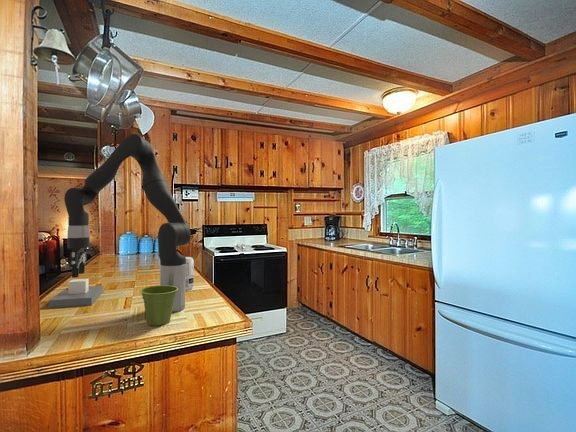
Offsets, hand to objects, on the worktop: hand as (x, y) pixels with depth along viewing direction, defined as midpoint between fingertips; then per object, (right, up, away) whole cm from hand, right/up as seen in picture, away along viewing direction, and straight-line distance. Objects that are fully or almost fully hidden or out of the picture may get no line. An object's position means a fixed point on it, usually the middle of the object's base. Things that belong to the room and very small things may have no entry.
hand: (78, 275), depth 125 cm
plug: (0, -9, 0) cm, 9 cm away
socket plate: (0, -10, 0) cm, 10 cm away
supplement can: (+37, -11, +21) cm, 44 cm away
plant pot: (+43, -12, -23) cm, 50 cm away
